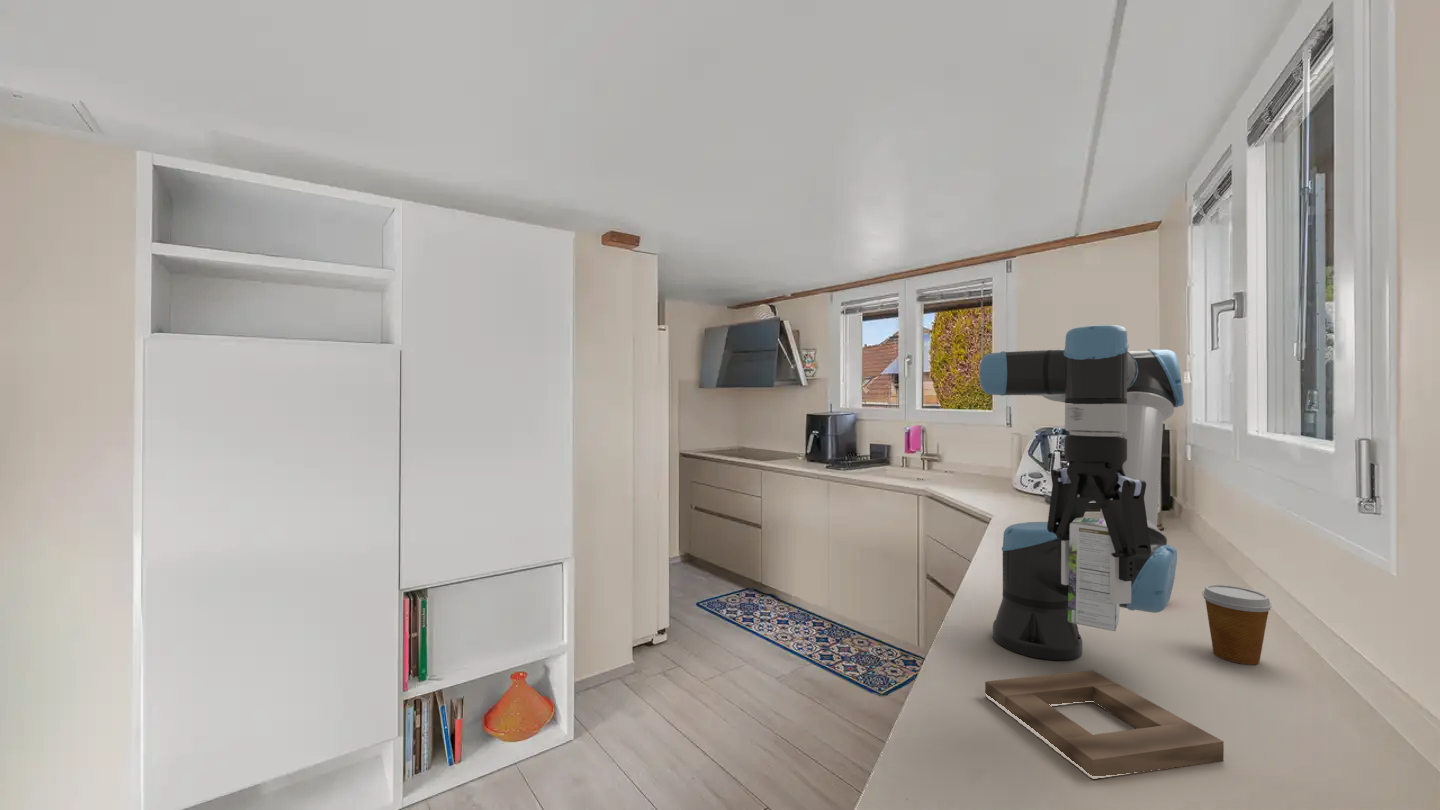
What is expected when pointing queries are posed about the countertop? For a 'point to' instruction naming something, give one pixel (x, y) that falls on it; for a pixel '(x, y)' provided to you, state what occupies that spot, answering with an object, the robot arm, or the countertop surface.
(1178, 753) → the wooden square frame
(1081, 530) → the syrup box
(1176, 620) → the countertop surface
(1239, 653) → the disposable coffee cup
